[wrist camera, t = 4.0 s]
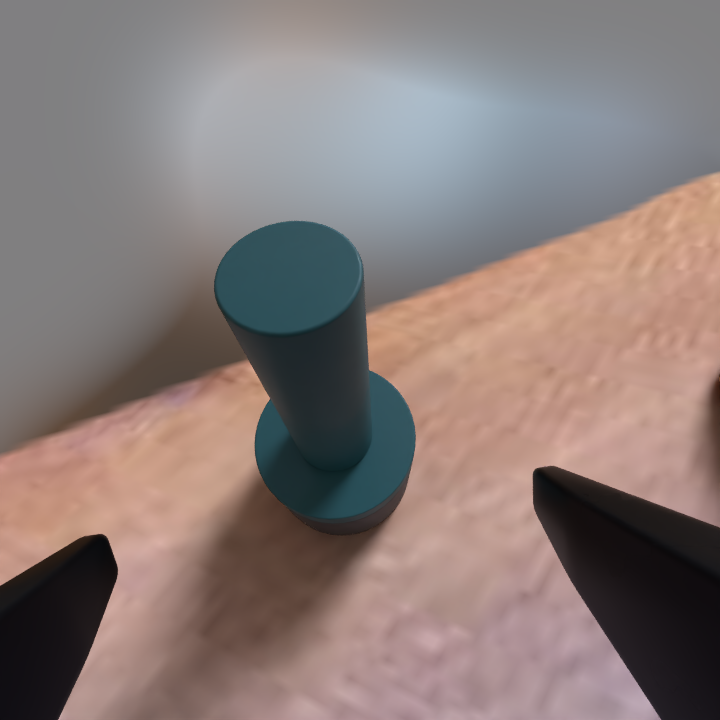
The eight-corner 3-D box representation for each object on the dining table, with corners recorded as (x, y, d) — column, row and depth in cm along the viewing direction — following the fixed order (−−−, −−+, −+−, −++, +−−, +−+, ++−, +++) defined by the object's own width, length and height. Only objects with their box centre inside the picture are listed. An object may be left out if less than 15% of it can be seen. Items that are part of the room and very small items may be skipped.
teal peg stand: (352, 567, 18) (293, 509, 6) (251, 475, 20) (59, 296, 8) (434, 454, 20) (513, 247, 8) (336, 383, 23) (285, 136, 11)
